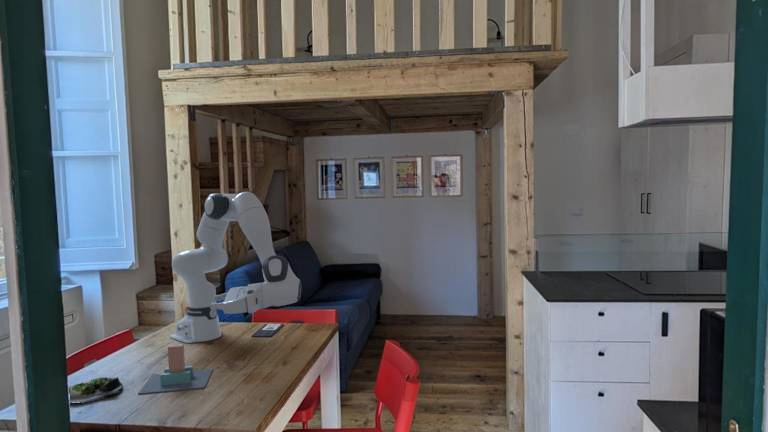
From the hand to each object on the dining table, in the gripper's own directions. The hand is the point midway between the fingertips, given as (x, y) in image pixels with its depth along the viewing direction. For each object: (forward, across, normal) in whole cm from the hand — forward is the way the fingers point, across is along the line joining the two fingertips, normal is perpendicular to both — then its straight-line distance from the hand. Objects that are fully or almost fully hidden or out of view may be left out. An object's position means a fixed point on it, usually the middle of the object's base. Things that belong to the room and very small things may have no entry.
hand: (212, 302), depth 164 cm
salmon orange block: (+14, +3, +24) cm, 28 cm away
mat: (+14, +3, +25) cm, 29 cm away
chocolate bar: (-12, -49, +31) cm, 59 cm away
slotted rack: (+14, +3, +25) cm, 29 cm away
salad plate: (+39, +6, +23) cm, 45 cm away
